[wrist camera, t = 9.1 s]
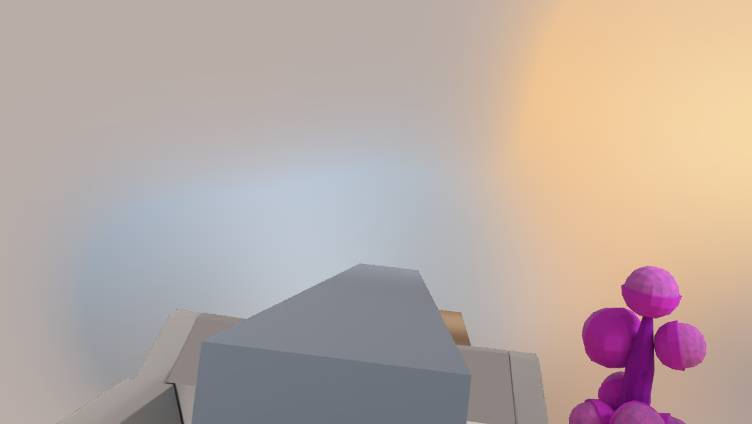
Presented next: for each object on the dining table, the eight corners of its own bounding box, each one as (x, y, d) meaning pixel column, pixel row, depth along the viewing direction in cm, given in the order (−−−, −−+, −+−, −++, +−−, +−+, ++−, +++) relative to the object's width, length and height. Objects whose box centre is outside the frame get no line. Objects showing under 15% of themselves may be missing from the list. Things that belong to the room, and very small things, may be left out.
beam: (441, 658, 7) (471, 375, 8) (166, 617, 8) (201, 341, 8) (411, 329, 35) (418, 270, 35) (353, 322, 36) (359, 263, 36)
